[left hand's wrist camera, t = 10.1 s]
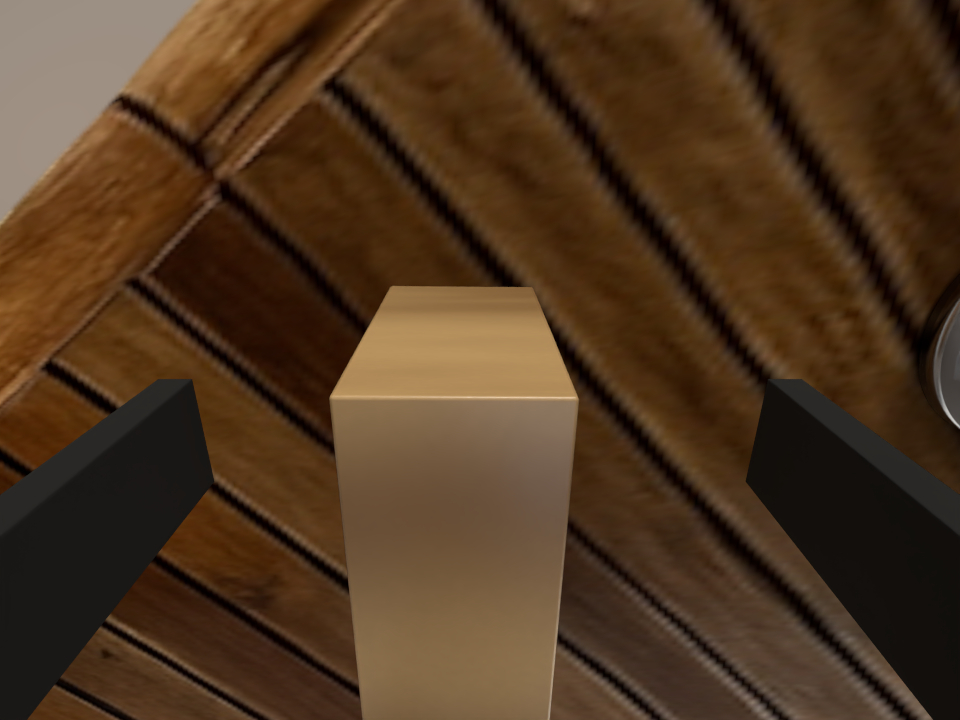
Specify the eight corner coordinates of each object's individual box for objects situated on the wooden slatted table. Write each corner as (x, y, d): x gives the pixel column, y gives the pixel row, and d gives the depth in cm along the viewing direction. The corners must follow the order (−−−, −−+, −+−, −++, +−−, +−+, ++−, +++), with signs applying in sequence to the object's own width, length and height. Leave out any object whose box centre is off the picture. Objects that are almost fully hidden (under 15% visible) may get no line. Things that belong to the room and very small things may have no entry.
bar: (390, 285, 20) (327, 396, 11) (533, 286, 20) (580, 397, 11) (412, 728, 29) (388, 974, 20) (510, 727, 29) (526, 973, 20)
